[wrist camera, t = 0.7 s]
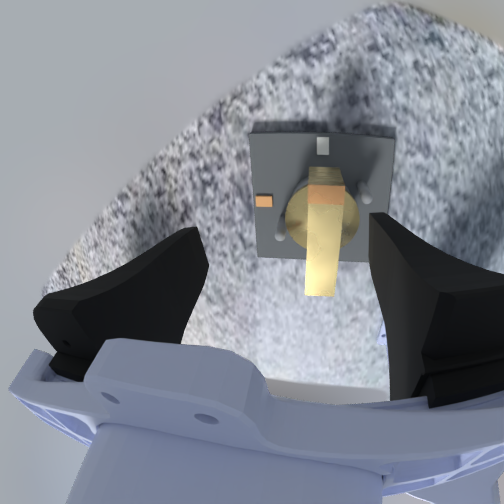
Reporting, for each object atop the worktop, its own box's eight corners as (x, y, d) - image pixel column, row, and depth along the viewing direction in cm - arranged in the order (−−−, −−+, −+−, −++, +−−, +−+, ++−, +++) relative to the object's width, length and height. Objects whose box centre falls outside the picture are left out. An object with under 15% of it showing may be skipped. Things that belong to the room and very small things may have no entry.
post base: (377, 257, 23) (383, 282, 20) (259, 251, 25) (251, 276, 22) (391, 137, 18) (405, 147, 15) (251, 132, 20) (240, 141, 17)
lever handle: (352, 262, 20) (357, 298, 17) (286, 259, 21) (280, 294, 18) (362, 166, 16) (374, 188, 13) (284, 163, 17) (277, 184, 14)
